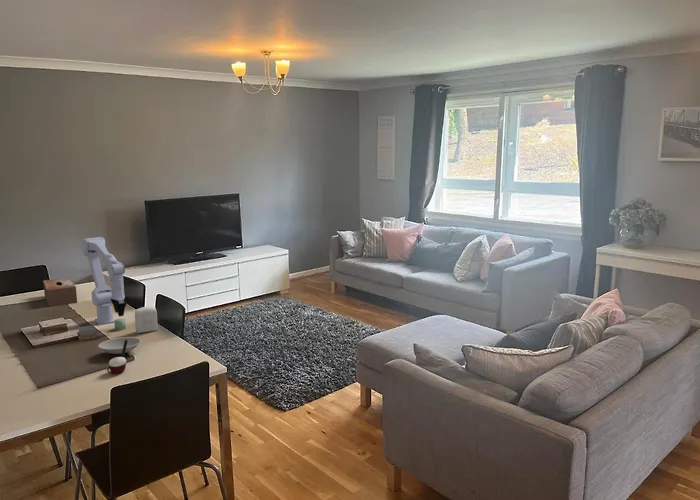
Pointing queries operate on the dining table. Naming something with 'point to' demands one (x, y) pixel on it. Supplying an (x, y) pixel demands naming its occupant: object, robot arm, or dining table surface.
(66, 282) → the tissue box cover
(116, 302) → the robot arm
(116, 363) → the cocoa
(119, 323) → the pale green block
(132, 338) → the dish
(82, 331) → the slate top block
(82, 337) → the walnut base block
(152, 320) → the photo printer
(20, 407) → the dining table surface
